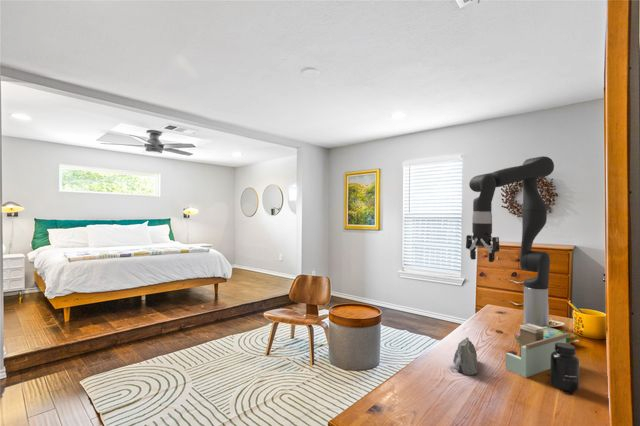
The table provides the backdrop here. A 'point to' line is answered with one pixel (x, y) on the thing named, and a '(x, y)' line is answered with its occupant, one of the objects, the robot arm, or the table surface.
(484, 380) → the table surface
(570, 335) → the puzzle game
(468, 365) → the mineral rock
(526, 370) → the mint green shelf
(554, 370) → the supplement bottle
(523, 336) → the brown wooden block
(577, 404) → the table surface
